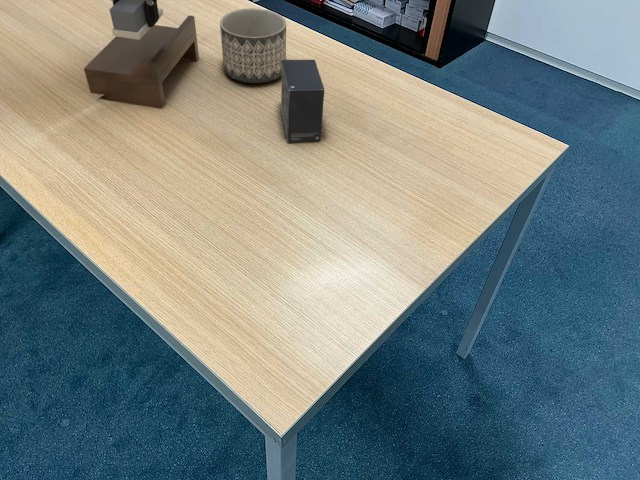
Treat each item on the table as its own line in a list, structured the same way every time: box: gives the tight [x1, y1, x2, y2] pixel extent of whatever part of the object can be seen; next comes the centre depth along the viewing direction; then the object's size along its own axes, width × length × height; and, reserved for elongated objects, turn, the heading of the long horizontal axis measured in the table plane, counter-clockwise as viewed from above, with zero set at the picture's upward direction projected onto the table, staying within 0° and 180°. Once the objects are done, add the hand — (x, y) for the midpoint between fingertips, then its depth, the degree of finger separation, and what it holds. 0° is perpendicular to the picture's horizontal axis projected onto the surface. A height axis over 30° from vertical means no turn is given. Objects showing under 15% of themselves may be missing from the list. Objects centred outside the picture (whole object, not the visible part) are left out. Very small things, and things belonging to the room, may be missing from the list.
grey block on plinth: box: [109, 0, 164, 40], centre depth 99 cm, size 11×5×5 cm, turn 169°
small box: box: [280, 59, 325, 143], centre depth 96 cm, size 11×6×10 cm, turn 9°
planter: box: [219, 7, 287, 84], centre depth 108 cm, size 13×13×10 cm
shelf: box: [83, 14, 200, 109], centre depth 105 cm, size 14×20×9 cm
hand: (138, 21), depth 101 cm, fingers closed on grey block on plinth, 5 cm apart
